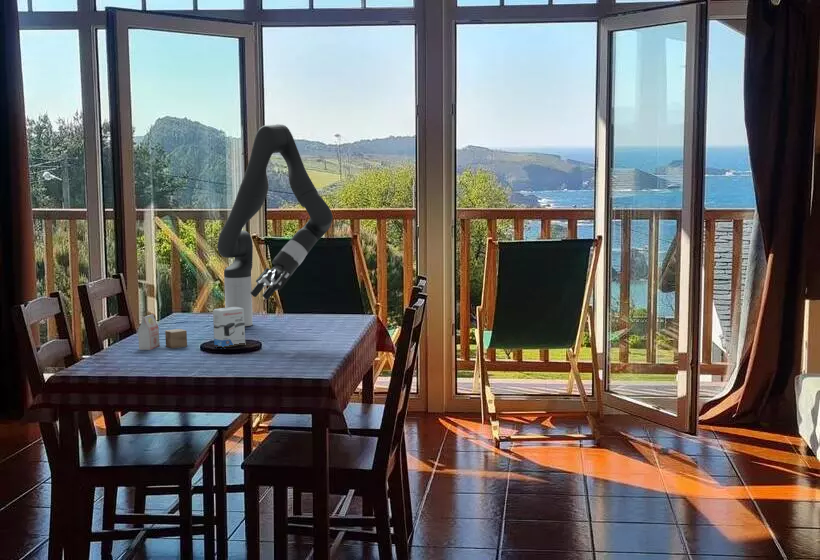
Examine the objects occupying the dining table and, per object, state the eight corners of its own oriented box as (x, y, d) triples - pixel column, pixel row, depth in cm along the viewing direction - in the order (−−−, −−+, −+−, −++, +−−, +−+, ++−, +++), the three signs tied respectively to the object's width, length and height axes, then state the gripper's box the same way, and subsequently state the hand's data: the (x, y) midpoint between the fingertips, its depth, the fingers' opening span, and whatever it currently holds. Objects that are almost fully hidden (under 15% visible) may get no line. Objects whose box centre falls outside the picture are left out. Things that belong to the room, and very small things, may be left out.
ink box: (222, 349, 292) (220, 310, 291) (213, 347, 296) (212, 309, 295) (246, 345, 298) (244, 307, 296) (237, 343, 301) (236, 306, 300)
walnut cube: (165, 346, 299) (165, 330, 299) (181, 344, 302) (180, 328, 301) (171, 348, 295) (170, 332, 294) (187, 346, 298) (186, 330, 297)
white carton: (138, 349, 294) (137, 317, 293) (148, 345, 300) (146, 314, 299) (150, 349, 293) (148, 317, 292) (159, 345, 300) (158, 314, 299)
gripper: (272, 248, 310) (240, 286, 305) (292, 251, 298) (260, 290, 293) (287, 264, 314) (256, 302, 308) (308, 266, 302) (276, 306, 297)
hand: (258, 296), depth 301 cm, fingers open, 8 cm apart
